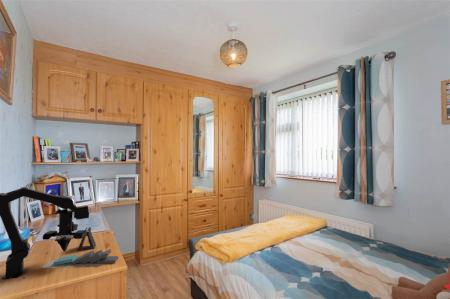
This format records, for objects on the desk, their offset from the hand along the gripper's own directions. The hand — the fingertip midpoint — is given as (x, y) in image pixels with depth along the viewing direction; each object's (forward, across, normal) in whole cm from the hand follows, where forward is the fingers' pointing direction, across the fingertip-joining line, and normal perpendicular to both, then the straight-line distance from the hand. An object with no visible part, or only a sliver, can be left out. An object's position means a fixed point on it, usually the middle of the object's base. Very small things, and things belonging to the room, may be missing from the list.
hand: (64, 251), depth 120 cm
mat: (+6, -6, 0) cm, 9 cm away
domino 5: (+5, -17, 0) cm, 18 cm away
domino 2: (+5, -5, 0) cm, 7 cm away
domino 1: (+5, +4, 0) cm, 7 cm away
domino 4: (+5, -14, 0) cm, 15 cm away
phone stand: (+7, -2, -19) cm, 20 cm away
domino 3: (+5, -9, 0) cm, 11 cm away
